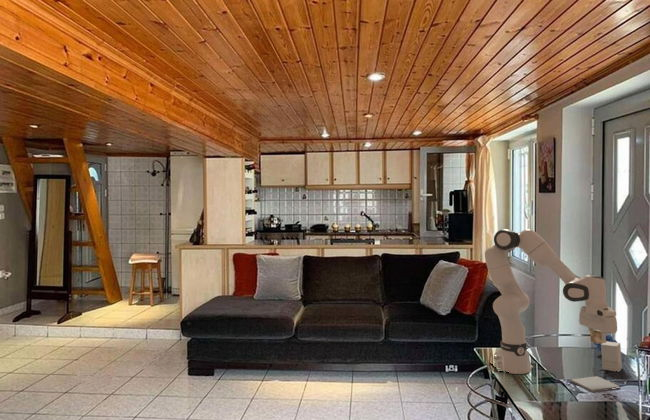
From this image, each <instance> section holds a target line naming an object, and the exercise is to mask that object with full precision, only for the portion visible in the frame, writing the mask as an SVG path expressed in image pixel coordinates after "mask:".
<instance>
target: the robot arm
mask: <svg viewBox="0 0 650 420" xmlns="http://www.w3.org/2000/svg"><path fill="white" fill-rule="evenodd" d="M493 244H494V245H493V246H490V247H488V248H487V249H486V250H485V251H484V259H485V263H486V264H485V265H486V267H487V271H488V274H489V277H490V279H491V282H492V285H493V286H494V287H495V288H497V289H498V291H499V292H500V294H501V295H499V296H498V297H497V298H496V299H495V300H494V301H493V302H492V308H493V312H494V313H495V314H496V315H497V317H498V319H499V323H500V327H501V338H502V339H501V340H499V343H500V348H499V349H498V350H496V351H495V352H494V355H493V360H494V361H495V362H496V363H497V364H498V368H501V369H498V370H502V371H506V372H509V373H508V374H513V375H515V374H516V375H517V374H518V375H522V374H528V373H530V372H532V369H533V365H532V364H531V359H530V353H529V351H527V350H528V345H527V342H526V329H525V325H524V324H523V323H522V321H521V316H520V313H523V312H525V311H526V310H527V309H528V308H529V306H530V303H531V299H530V297H529V295H528V294H527V293H526V292H524V291H523V290H522V288H521V287H520V284H519V283H518V282H517V280H516V278H515V276H514V275H515V274H514V273H513V269H512V267H511V264H510V262H509V259H508V253H510V252H511V251H513V250H515V249H516V248H519V249H520V250H522V251H523V252H524V253H525V254H526V255H527V256H528V258H529V259H530V260H531V261H532V262H533V263H535V264H536V265H537V266H540V267H544V268H547V269H549V270H551V271H552V272H553V273H554V274H555V275H556V276H557V277H558V278H559V279H561V281H562V282H563V283H564V284H565V285H563V289H562V294H563V296H564V298H565V299H566V300H568V301H570V302H583V301H585V305H582V306H581V307H580V311H579V319H578V321H579V325H580V326H583V327H586V328H588V329H587V330H588V331H589V333H590V331H593V330H600V331H601V333H602V335H601V336H600V340H602V341H605V340H606V338H605V337H606V336H607V335H608V334H609V335H611V334H616V333H617V331H618V321H617V317H616V316H617V311H616V310H614V309H612V308H611V307H610V306H608V302H607V299H606V297H607V285H606V281H605V279H604V277H602V276H600V275H596V274H591V273H589V274H586V275H584V276H582V277H580V276H577V275H576V274H575V273H574V272H573V271H572V270H571V269H570V268H569V267H568V266H567V265H566V264H565V263H564V262H563V261H562V260H561V259H560V258H559V256H558V255H557V253H555V251H554V249H553V248H552V247H551V246H550V245H549V244H548V243H547V241H546V240H545V239H544V238H543V237H542V236H541V235H539V234H538V232H537V231H535V230H533V229H531V228H526V229H523V230H522V231H520V232H516V231H514V230H513V229H509V228H503V229H500V230H497V231H496V233H494V236H493ZM506 372H505V373H506Z"/></svg>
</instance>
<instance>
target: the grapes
mask: <svg viewBox="0 0 650 420" xmlns="http://www.w3.org/2000/svg"><path fill="white" fill-rule="evenodd" d="M606 341H607V342H616V343H618V341H617V340H616V339H614V337H613V336H612V335H611V334H607V335H606ZM593 344H594V345H595V346H596V350H597V351H598V352H601V344H602V343H600V344H597V343H594V342H593Z"/></svg>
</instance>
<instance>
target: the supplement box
mask: <svg viewBox="0 0 650 420" xmlns="http://www.w3.org/2000/svg"><path fill="white" fill-rule="evenodd" d="M600 352H601V363H602V364H601V365H602V370H605V371H611V372H616V371H617V372H620V371H621V370H622V369H623V365H622V349H621V342H617V343H616V342H607V341H606V343H602V344H601V351H600ZM617 372H616V373H617Z"/></svg>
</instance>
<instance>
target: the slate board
mask: <svg viewBox="0 0 650 420" xmlns="http://www.w3.org/2000/svg"><path fill="white" fill-rule="evenodd" d="M570 382H571V383H572V384H575V385H577V386H578V387H581V388H583V389H585V390H587V391H590V392H591V391H592V393H595V391H597V392H602V391H601V390H605V391H607V390H606V389H612V388H616V387H620V388H621V385H619V384H616V383H613V382H612V381H609V380H606V379H605V378H602V377H601V376H596V375H595V376H587V377H581V378H580V377H579V378H572V379H570Z"/></svg>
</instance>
